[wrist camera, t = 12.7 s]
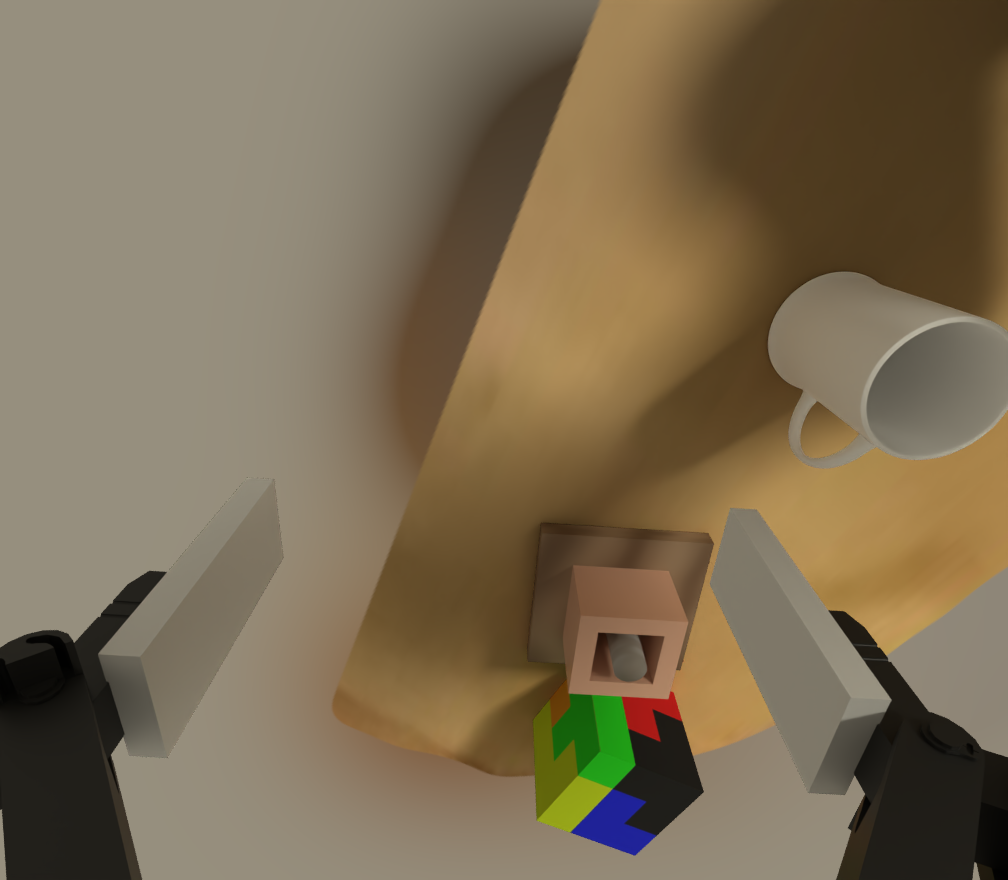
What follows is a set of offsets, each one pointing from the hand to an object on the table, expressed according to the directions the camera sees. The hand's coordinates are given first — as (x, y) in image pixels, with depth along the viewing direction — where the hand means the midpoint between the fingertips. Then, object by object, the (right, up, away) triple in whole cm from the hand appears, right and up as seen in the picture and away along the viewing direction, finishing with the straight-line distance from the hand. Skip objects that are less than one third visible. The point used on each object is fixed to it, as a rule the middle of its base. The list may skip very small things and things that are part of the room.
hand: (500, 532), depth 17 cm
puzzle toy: (+10, -24, +41) cm, 48 cm away
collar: (+10, -12, +33) cm, 36 cm away
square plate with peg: (+10, -11, +35) cm, 38 cm away
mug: (+22, +9, +25) cm, 35 cm away
